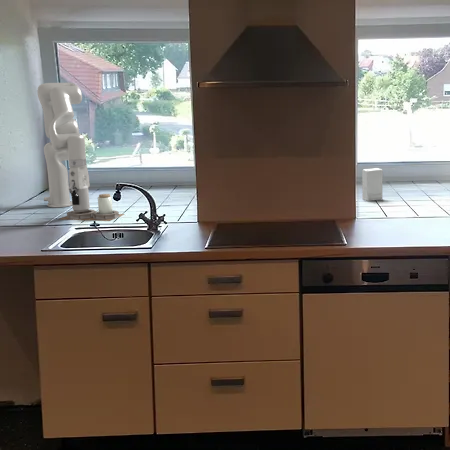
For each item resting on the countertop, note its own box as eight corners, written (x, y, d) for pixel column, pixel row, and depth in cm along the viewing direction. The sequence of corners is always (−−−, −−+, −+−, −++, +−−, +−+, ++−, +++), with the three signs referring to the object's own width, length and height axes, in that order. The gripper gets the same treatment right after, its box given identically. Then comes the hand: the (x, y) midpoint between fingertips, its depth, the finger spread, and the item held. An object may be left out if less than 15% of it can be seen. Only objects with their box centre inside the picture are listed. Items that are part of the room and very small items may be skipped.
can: (85, 212, 291) (83, 185, 289) (69, 212, 293) (67, 185, 290) (92, 209, 298) (90, 182, 296) (76, 208, 300) (74, 182, 297)
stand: (58, 221, 291) (57, 214, 291) (75, 215, 305) (74, 208, 305) (109, 223, 284) (109, 216, 283) (125, 216, 298) (124, 209, 297)
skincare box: (377, 197, 325) (377, 167, 322) (383, 200, 319) (383, 169, 316) (361, 199, 323) (361, 168, 320) (366, 201, 318) (367, 170, 314)
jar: (96, 218, 291) (95, 195, 288) (103, 215, 296) (101, 193, 294) (109, 218, 289) (107, 196, 287) (115, 216, 294) (113, 193, 292)
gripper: (75, 165, 282) (78, 206, 285) (94, 161, 298) (97, 199, 302) (59, 165, 284) (62, 206, 288) (79, 161, 300) (82, 199, 304)
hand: (80, 202), depth 295 cm, fingers closed on can, 7 cm apart
